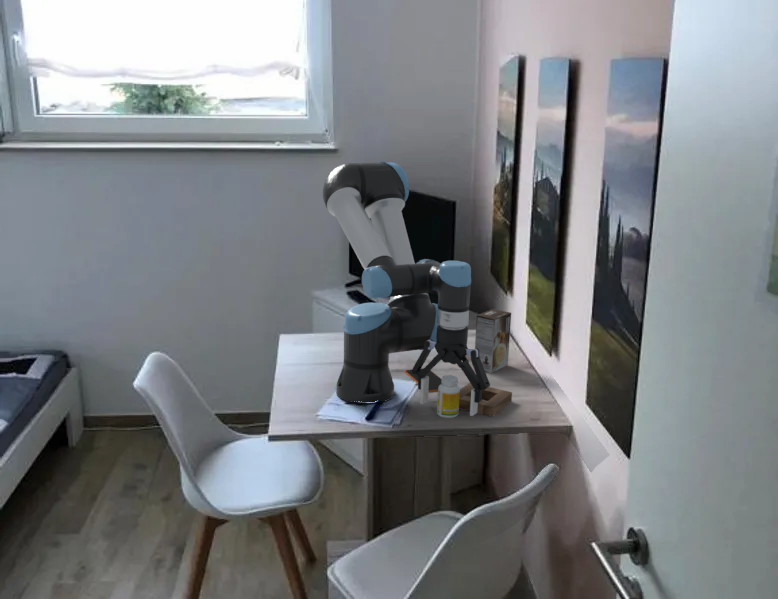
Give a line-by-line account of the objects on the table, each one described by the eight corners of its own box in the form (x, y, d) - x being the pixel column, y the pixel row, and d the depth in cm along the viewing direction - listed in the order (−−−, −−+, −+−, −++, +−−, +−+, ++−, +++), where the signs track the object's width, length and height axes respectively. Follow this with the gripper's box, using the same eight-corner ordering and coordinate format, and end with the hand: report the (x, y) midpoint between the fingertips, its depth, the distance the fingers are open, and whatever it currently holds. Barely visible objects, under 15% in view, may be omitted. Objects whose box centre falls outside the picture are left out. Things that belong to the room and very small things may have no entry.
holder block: (449, 405, 215) (449, 396, 214) (469, 391, 225) (469, 382, 224) (492, 416, 209) (493, 407, 208) (511, 401, 219) (512, 392, 218)
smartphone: (427, 370, 240) (427, 367, 240) (453, 391, 226) (453, 388, 225) (403, 372, 238) (403, 369, 238) (427, 394, 223) (427, 391, 223)
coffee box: (489, 360, 249) (492, 308, 245) (508, 365, 245) (512, 312, 241) (472, 368, 242) (476, 314, 238) (492, 373, 238) (495, 319, 234)
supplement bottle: (432, 413, 210) (434, 376, 207) (448, 408, 213) (450, 372, 210) (447, 420, 206) (449, 383, 203) (462, 415, 209) (465, 378, 206)
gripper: (399, 320, 206) (397, 401, 212) (494, 338, 194) (488, 424, 200) (414, 313, 212) (411, 392, 218) (506, 330, 200) (501, 414, 206)
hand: (448, 408), depth 209 cm, fingers open, 13 cm apart
